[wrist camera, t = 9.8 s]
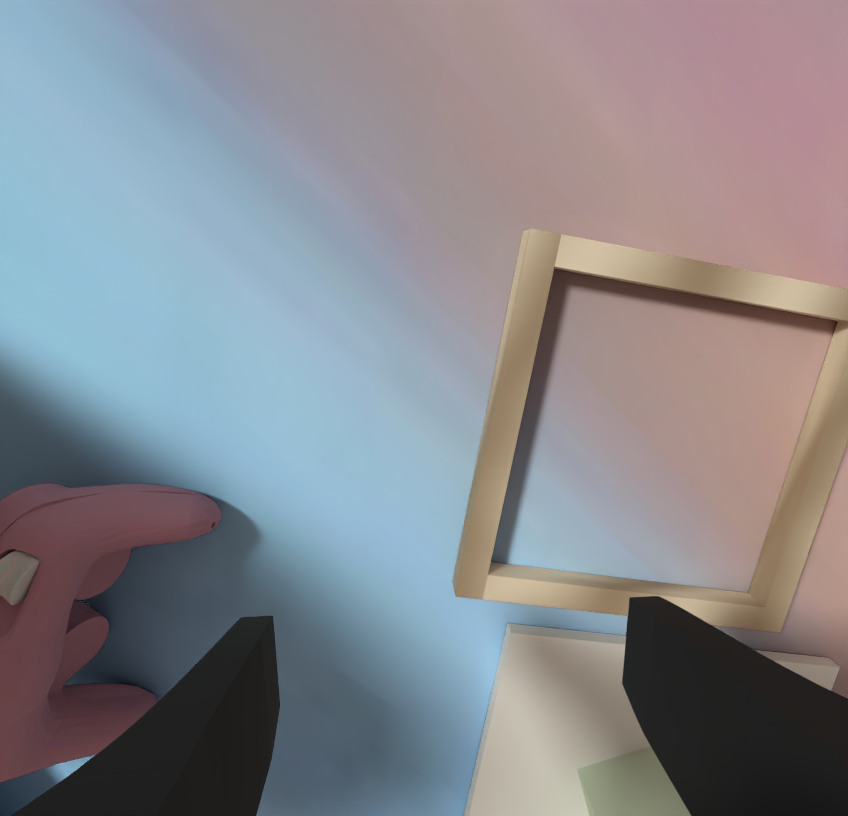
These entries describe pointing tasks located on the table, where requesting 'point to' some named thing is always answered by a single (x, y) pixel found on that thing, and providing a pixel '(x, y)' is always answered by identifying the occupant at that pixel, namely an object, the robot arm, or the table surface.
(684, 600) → the maple pocket frame
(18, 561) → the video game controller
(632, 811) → the sage block
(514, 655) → the beige mat
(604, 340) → the table surface
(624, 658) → the robot arm
